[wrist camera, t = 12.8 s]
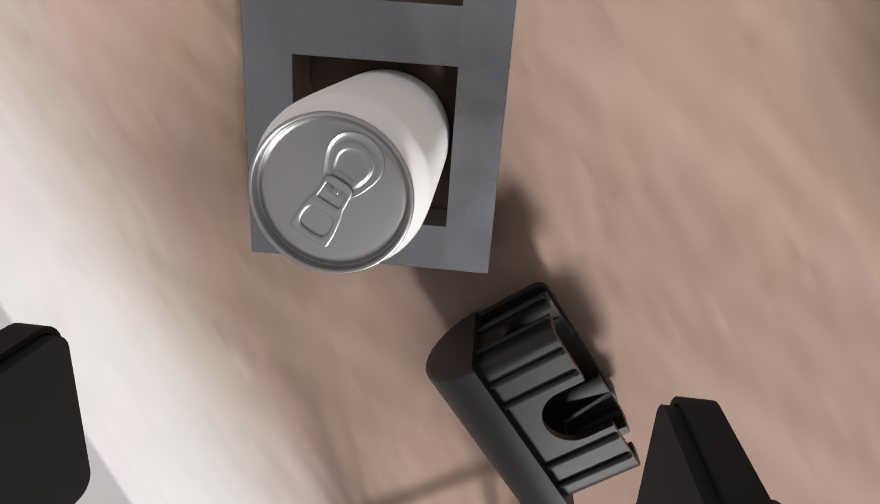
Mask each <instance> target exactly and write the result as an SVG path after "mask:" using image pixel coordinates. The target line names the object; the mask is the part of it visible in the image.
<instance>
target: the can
mask: <svg viewBox="0 0 880 504" xmlns="http://www.w3.org/2000/svg"><path fill="white" fill-rule="evenodd" d="M449 143H450V129H449V122H448V118H447V115H446V112H445V109H444V107H443V105H442V103H441V101H440V100H439V98H438V96H437V95H436V94H435V92H434V91H433V90H432V89H431V88H430V87H429V86H428V85H426V84H425V83H424V82H422V81H421V80H419V79H417V78H415V77H413V76H411V75H409V74H406V73H404V72H401V71H397V70H391V69H377V70H371V71H367V72H364V73H361V74H358V75H355V76H353V77H350V78H348V79H346V80H343V81H341V82H338V83H336V84H334V85H331V86H329V87H327V88H324V89H322V90H320V91H317V92H315V93H313V94H311V95H308V96H306V97H304V98H302V99H300V100H299V101H297V102H295V103H293V104H292V105H290V106H289V107H287V108H286V109H285V110H283V111H282V112H281V113H280V114H279V115H278V116H277V117H276V118H275V119H274V120H273V121H272V122H271V124H270V125H269V126H268V128H267V129H266V131H265V132H264V134H263V136H262V138H261V140H260V143H259V145H258V148H257V151H256V153H255V155H254V158H253V160H252V163H251V167H250V172H249V179H248V192H249V200H250V204H251V208H252V212H253V214H254V217H255V219H256V222H257V224H258V226H259V227H260V229H261V231H262V232H263V234H264V235H265V237H266V238H267V239H268V240H269V242H270V243H271V244H272V245H273V246H274V247H275V248H276V249H277V250H278V251H279V252H280V253H282V254H283V255H284V256H286V257H287V258H288V259H290V260H291V261H293V262H295V263H297V264H299V265H301V266H303V267H305V268H308V269H311V270H314V271H317V272H322V273H328V274H349V273H355V272H359V271H363V270H366V269H368V268H371V267H373V266H375V265H377V264H378V263H380V262H382V261H384V260H386V259H388V258H390V257H391V256H393V255H395V254H396V253H398V252H399V251H400V250H401V249H403V248H404V247H405V246H406V245H407V244H408V243H409V242H410V241H411V240H412V238H413V237H414V236H415V234H416V233H417V232H418V230H419V229H420V227H421V225H422V223H423V221H424V219H425V217H426V215H427V213H428V210H429V207H430V205H431V202H432V199H433V196H434V193H435V190H436V188H437V185H438V182H439V179H440V176H441V173H442V170H443V167H444V164H445V160H446V157H447V153H448V149H449Z"/></svg>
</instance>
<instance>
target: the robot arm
mask: <svg viewBox="0 0 880 504" xmlns="http://www.w3.org/2000/svg"><path fill="white" fill-rule="evenodd" d="M89 480H90V466H89V461H88V454H87V449H86V443H85V437H84V431H83V425H82V420H81V414H80V408H79V402H78V396H77V390H76V385H75V379H74V373H73V367H72V361H71V356H70V350H69V345H68V342H67V341H66V339H65V338H63V337H61V335H60V333H59V332H58V331H57V329H55V328H53V327H51V326H42V325H33V324H24V323H13V324H11V325H8V326H6V327H5V328H3V329H1V330H0V504H75V503H76V502H77V501H78V500H79V499H80V497H81V496H82V495H83V494H84V492H85V490H86V488H87V486H88V483H89ZM636 504H781V503H779V502H777V501H776V500H771V499H770V497H769V495H768V493H767V492H766V490H765V488H764V486H763V484H762V482H761V481H760V479H759V477H758V475H757V473H756V471H755V470H754V468H753V466H752V464H751V462H750V461H749V459H748V457H747V455H746V453H745V451H744V450H743V448H742V446H741V444H740V442H739V440H738V439H737V437H736V435H735V433H734V431H733V429H732V428H731V426H730V424H729V422H728V420H727V419H726V417H725V415H724V413H723V411H722V409H721V408H720V406H719V404H718V403H717V402H716V401H713V400H705V399H696V398H687V397H678V396H676V397H674V398H673V400H672V401H671V404H670V405H662V404H661V405H660V406H659V408H658V410H657V413H656V418H655V422H654V427H653V431H652V436H651V440H650V445H649V449H648V454H647V458H646V463H645V467H644V472H643V476H642V481H641V485H640V490H639V494H638V499H637V503H636Z"/></svg>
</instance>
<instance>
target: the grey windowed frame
mask: <svg viewBox="0 0 880 504" xmlns="http://www.w3.org/2000/svg"><path fill="white" fill-rule="evenodd" d="M240 1H241V22H242V44H243V65H244V87H245V109H246V130H247V152H248V174H249V172H250V167H251V163H252V160H253V158H254V155H255V153H256V151H257V148H258V145H259V143H260V140H261V138H262V136H263V134H264V132H265V131H266V129H267V128H268V126H269V125H270V124H271V122H272V121H273V120H274V119H275V118H276V117H277V116H278V115H279V114H280V113H281V112H282V111H283V110H285V109H286V108H287V107H289V106H290V105H292V104H293V103H295V102H297V101H299V100H300V99H302V98H304V97H306V96H308V95H311V66H310V55H312V56H325V57H338V58H351V59H364V60H377V61H389V62H402V63H415V64H428V65H441V66H454V67H458V76H457V89H456V103H455V116H454V129H453V142H452V155H451V169H450V182H449V195H448V208H447V209H446V208H435V207H429V210H428V213H427V215H426V217H425V219H424V221H423V223H422V225H421V227H420V229H419V230H418V232H417V233H416V234H415V236H414V237H413V238H412V240H411V241H410V242H409V243H408V244H407V245H406V246H405V247H404V248H403V249H401V250H400V251H399V252H398V253H396V254H395V255H393V256H391V257H390V258H388V259H386V260H384V261H382V262H380V263H381V264H392V265H402V266H413V267H423V268H434V269H445V270H455V271H466V272H476V273H487V274H488V267H489V257H490V248H491V238H492V229H493V219H494V210H495V200H496V190H497V181H498V171H499V162H500V152H501V143H502V133H503V124H504V114H505V105H506V95H507V86H508V76H509V67H510V57H511V47H512V38H513V28H514V19H515V9H516V0H463V6H454V5H440V4H426V3H413V2H399V1H385V0H240ZM250 217H251V238H252V251H254V252H265V253H275V254H282V253H280V252H279V251H278V250H277V249H276V248H275V247H274V246H273V245H272V244H271V243H270V242H269V240H268V239H267V238H266V237H265V235H264V234H263V232H262V231H261V229H260V227H259V226H258V224H257V222H256V219H255V217H254V214H253V212H252V208H251V204H250Z"/></svg>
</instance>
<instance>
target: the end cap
mask: <svg viewBox="0 0 880 504" xmlns="http://www.w3.org/2000/svg"><path fill="white" fill-rule="evenodd" d="M426 372H427V375H428V377H429V379H430V380H431V381H432V383H433V384H434V385H435V387H436V388H437V390H438V391H439V392H440V394H441V395H442V396H443V398H444V399H445V400H446V402H447V403H448V405H449V406H450V407H451V409H452V410H453V411H454V413H455V414H456V416H457V417H458V418H459V420H460V421H461V422H462V424H463V425H464V426H465V428H466V429H467V431H468V432H469V433H470V435H471V436H472V437H473V439H474V440H475V442H476V443H477V444H478V446H479V447H480V448H481V450H482V451H483V452H484V454H485V455H486V457H487V458H488V459H489V461H490V462H491V463H492V465H493V466H494V468H495V469H496V470H497V472H498V473H499V474H500V476H501V477H502V478H503V480H504V481H505V483H506V484H507V485H508V487H509V488H510V489H511V491H512V492H513V494H514V495H515V496H516V498H517V499H518V500H519V502H520V503H521V504H574V500H573V493H576V492H578V491H580V490H583V489H585V488H587V487H590V486H592V485H594V484H597V483H599V482H602V481H604V480H606V479H609V478H611V477H613V476H616V475H618V474H620V473H623V472H625V471H627V470H630V469H632V468H634V467H637V466H639V465H640V461H639V458H638V455H637V452H636V449H635V446H634V445H633V443H632V442H629V443H627V442H626V441H625V439H624V438H623V436H622V435H623V434H626V433H628V432H630V430H629V427H628V424H627V421H626V418H625V415H624V413H623V411H622V409H621V407H620V406H619V404H618V400H617V397H616V394H615V392H614V390H613V389H612V387H611V385H610V384H609V382H608V381H607V379H606V377H605V376H604V374H603V373H602V371H601V370H600V368H599V366H598V365H597V363H596V362H595V360H594V358H593V357H592V355H591V354H590V352H589V351H588V349H587V347H586V346H585V344H584V343H583V341H582V339H581V338H580V336H579V335H578V333H577V332H576V330H575V328H574V327H573V325H572V324H571V322H570V320H569V319H568V317H567V316H566V314H565V313H564V311H563V309H562V308H561V306H560V305H559V303H558V302H557V300H556V298H555V297H554V295H553V294H552V292H551V290H550V289H549V287H548V286H547V285H546V284H544V283H540V282H538V283H534V284H532V285H530V286H528V287H526V288H524V289H523V290H521V291H519V292H517V293H515V294H513V295H511V296H509V297H508V298H506V299H504V300H502V301H500V302H498V303H496V304H494V305H493V306H491V307H489V308H487V309H485V310H483V311H482V312H480V313H479V314H478V313H477V312H474V313H472V314H471V315H469V316H467V317H466V318H464V319H463V320H461V321H460V322H459V323H457V324H456V325H455V326H454V327H452V328H451V329H450V330H449V331H448V332H447V333H446V334H445V335H444V336H443V337H442V338H441V339H440V340H439V341H438V342H437V344H436V345H435V346H434V348H433V349H432V351H431V353H430V355H429V356H428V360H427V363H426Z"/></svg>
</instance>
